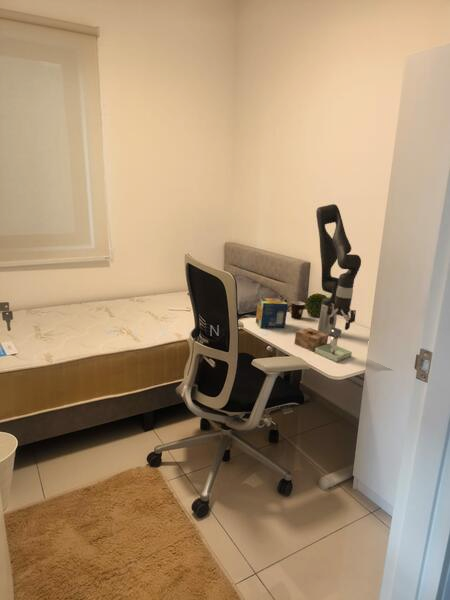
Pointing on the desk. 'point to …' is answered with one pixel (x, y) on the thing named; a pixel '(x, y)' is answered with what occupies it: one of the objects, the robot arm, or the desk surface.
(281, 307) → the protein box
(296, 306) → the coffee mug
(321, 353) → the sage tray
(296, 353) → the desk surface
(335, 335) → the steel pin
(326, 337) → the brown wooden block
